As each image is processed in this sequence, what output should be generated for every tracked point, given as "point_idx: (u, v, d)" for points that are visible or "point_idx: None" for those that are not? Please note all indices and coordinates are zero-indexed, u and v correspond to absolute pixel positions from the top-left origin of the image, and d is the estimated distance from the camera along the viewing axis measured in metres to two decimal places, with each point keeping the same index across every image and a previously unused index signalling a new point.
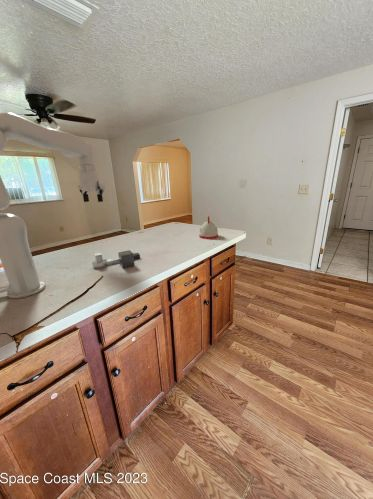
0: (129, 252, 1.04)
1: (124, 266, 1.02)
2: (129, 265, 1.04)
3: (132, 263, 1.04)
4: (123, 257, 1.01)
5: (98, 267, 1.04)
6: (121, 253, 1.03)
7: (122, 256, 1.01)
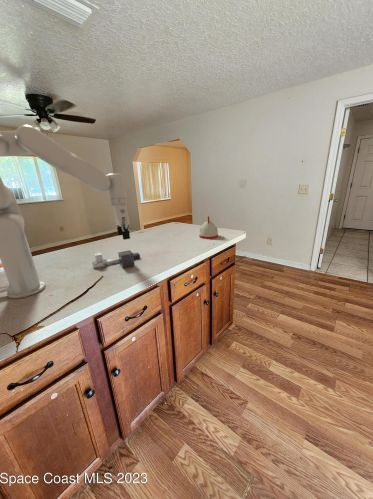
0: (129, 252, 1.04)
1: (124, 266, 1.02)
2: (129, 265, 1.04)
3: (132, 263, 1.04)
4: (123, 257, 1.01)
5: (98, 267, 1.04)
6: (121, 253, 1.03)
7: (122, 256, 1.01)
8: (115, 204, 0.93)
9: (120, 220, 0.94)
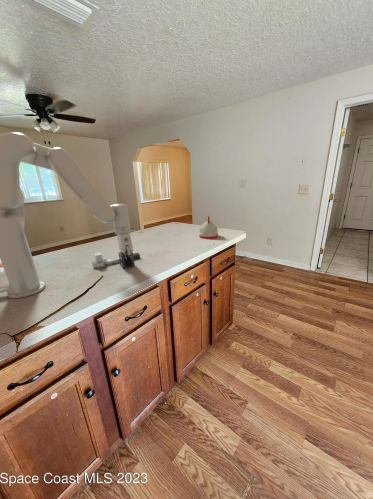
0: None
1: (124, 266, 1.02)
2: None
3: (132, 263, 1.04)
4: (123, 257, 1.01)
5: (98, 267, 1.04)
6: (121, 253, 1.03)
7: (122, 256, 1.01)
8: (119, 233, 0.97)
9: (124, 248, 0.98)
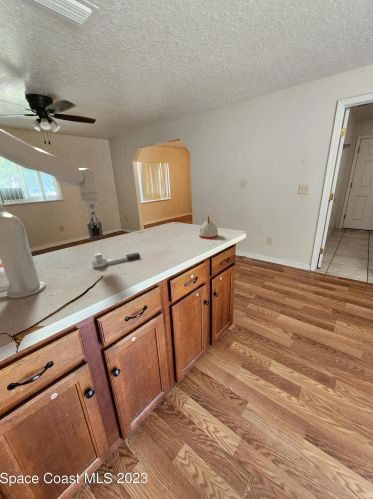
0: None
1: (91, 236, 0.98)
2: None
3: (100, 233, 1.00)
4: (90, 225, 0.96)
5: (98, 267, 1.04)
6: (89, 222, 0.99)
7: (89, 224, 0.96)
8: (84, 199, 0.93)
9: (89, 215, 0.93)
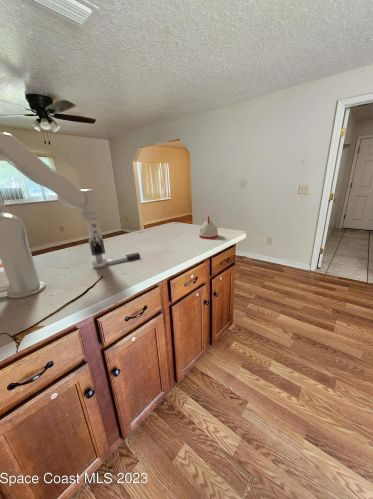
0: (99, 239, 1.03)
1: (94, 253, 1.01)
2: None
3: (102, 250, 1.03)
4: (92, 243, 0.99)
5: (98, 267, 1.04)
6: (91, 240, 1.02)
7: (91, 243, 0.99)
8: (87, 219, 0.96)
9: (92, 234, 0.97)
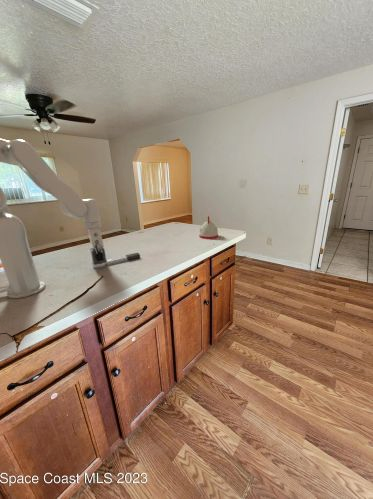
0: None
1: (95, 262, 1.02)
2: (100, 261, 1.04)
3: None
4: (94, 252, 1.01)
5: (98, 267, 1.04)
6: (92, 249, 1.03)
7: (92, 252, 1.01)
8: (88, 228, 0.97)
9: (93, 243, 0.98)
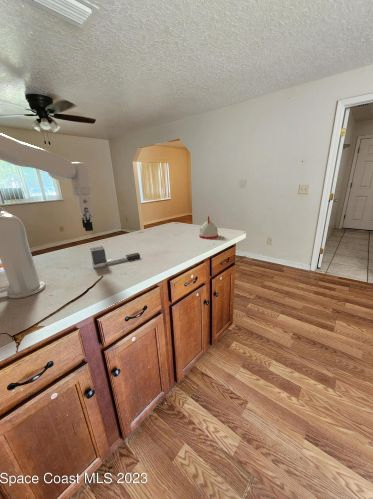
0: (101, 248, 1.04)
1: (95, 262, 1.02)
2: (100, 261, 1.04)
3: (104, 259, 1.04)
4: (94, 252, 1.01)
5: (98, 267, 1.04)
6: (92, 249, 1.03)
7: (92, 252, 1.01)
8: (77, 194, 0.90)
9: (82, 210, 0.91)
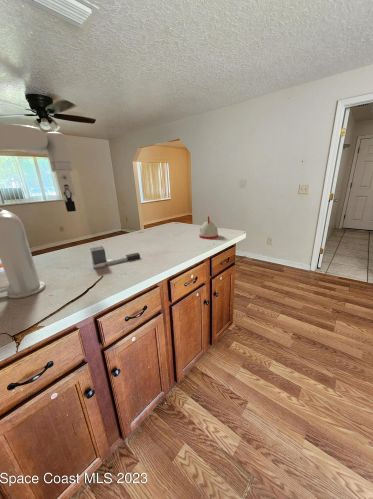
0: (101, 248, 1.04)
1: (95, 262, 1.02)
2: (100, 261, 1.04)
3: (104, 259, 1.04)
4: (94, 252, 1.01)
5: (98, 267, 1.04)
6: (92, 249, 1.03)
7: (93, 252, 1.01)
8: (55, 169, 0.80)
9: (62, 188, 0.81)
